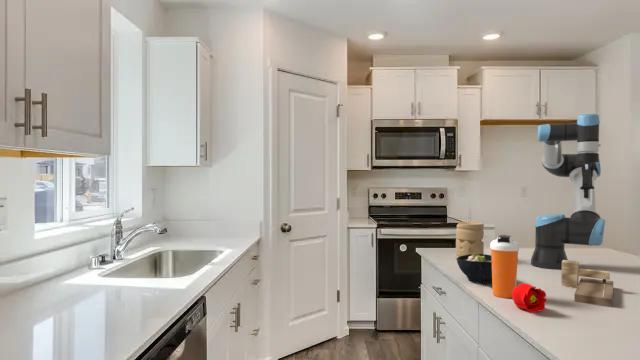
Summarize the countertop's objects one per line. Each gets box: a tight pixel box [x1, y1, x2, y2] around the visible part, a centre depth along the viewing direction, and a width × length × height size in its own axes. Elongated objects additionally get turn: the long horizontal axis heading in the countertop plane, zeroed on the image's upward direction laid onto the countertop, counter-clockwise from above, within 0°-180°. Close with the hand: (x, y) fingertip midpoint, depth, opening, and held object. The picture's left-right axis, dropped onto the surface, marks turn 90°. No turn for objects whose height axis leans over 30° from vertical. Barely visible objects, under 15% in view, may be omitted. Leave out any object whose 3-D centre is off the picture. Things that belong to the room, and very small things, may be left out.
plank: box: [573, 277, 614, 308], centre depth 144 cm, size 10×28×2 cm, turn 145°
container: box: [455, 221, 485, 261], centre depth 203 cm, size 13×13×18 cm
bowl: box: [456, 254, 492, 284], centre depth 163 cm, size 17×17×10 cm
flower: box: [512, 283, 547, 314], centre depth 128 cm, size 8×8×8 cm
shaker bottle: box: [489, 234, 520, 299], centre depth 142 cm, size 9×9×20 cm
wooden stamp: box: [560, 260, 611, 289], centre depth 153 cm, size 14×5×9 cm, turn 55°
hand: (587, 205), depth 170 cm, fingers open, 13 cm apart
